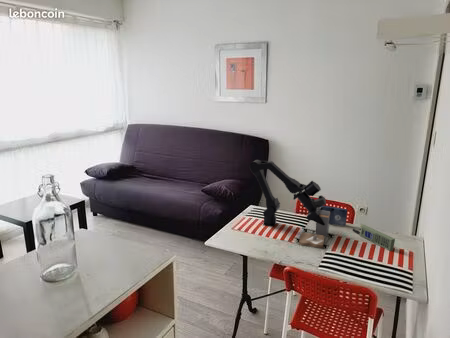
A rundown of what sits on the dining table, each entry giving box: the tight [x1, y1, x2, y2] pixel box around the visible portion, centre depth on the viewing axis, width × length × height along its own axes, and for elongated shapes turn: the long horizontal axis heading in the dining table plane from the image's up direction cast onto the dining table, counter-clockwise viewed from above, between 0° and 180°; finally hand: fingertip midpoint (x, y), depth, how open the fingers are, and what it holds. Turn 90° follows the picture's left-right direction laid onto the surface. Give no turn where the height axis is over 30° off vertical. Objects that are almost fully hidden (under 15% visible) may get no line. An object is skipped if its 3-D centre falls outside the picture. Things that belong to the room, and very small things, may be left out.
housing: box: [314, 210, 330, 238], centre depth 186 cm, size 6×6×12 cm
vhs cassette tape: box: [321, 205, 348, 227], centre depth 201 cm, size 18×3×10 cm, turn 65°
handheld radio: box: [352, 223, 396, 252], centre depth 179 cm, size 7×3×25 cm
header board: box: [298, 232, 325, 249], centre depth 178 cm, size 12×12×4 cm
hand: (325, 222), depth 185 cm, fingers closed on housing, 6 cm apart
